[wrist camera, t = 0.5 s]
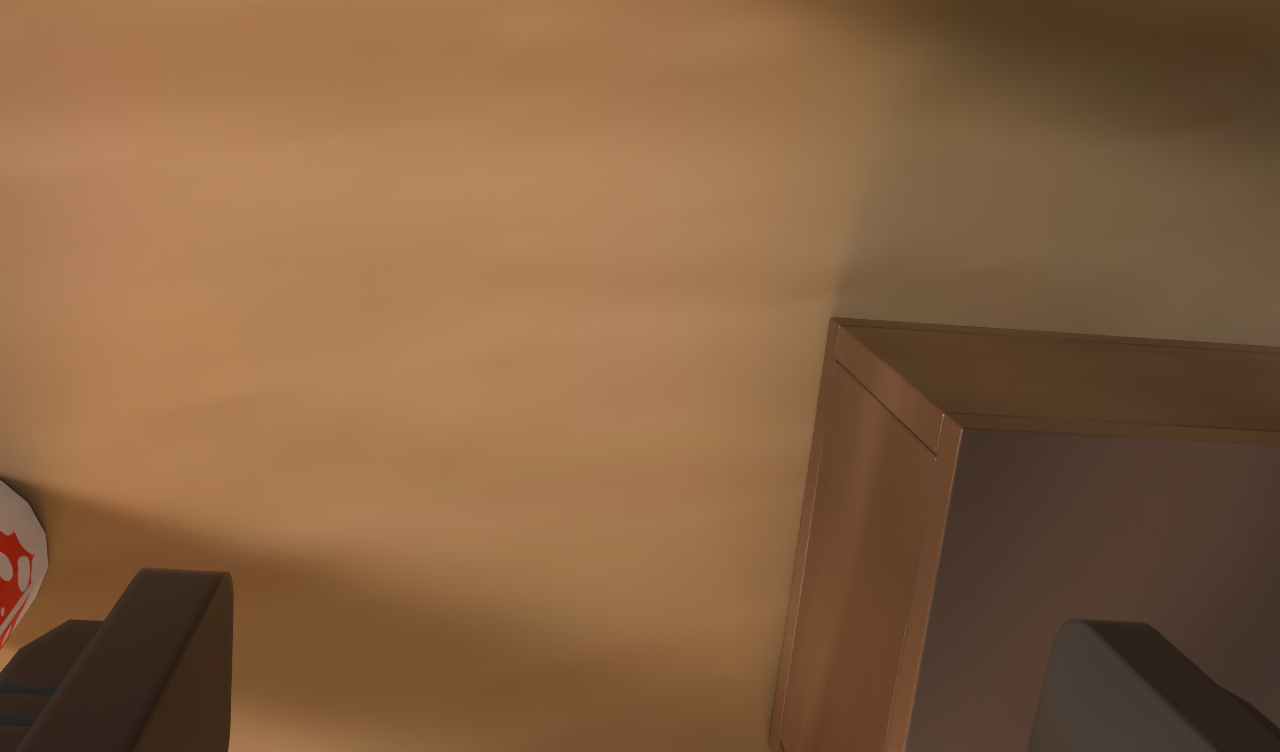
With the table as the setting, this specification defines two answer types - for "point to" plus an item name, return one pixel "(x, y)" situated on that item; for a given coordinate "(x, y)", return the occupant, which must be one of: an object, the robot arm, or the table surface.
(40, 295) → the table surface
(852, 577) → the cabinet
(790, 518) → the table surface
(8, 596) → the beverage cup
